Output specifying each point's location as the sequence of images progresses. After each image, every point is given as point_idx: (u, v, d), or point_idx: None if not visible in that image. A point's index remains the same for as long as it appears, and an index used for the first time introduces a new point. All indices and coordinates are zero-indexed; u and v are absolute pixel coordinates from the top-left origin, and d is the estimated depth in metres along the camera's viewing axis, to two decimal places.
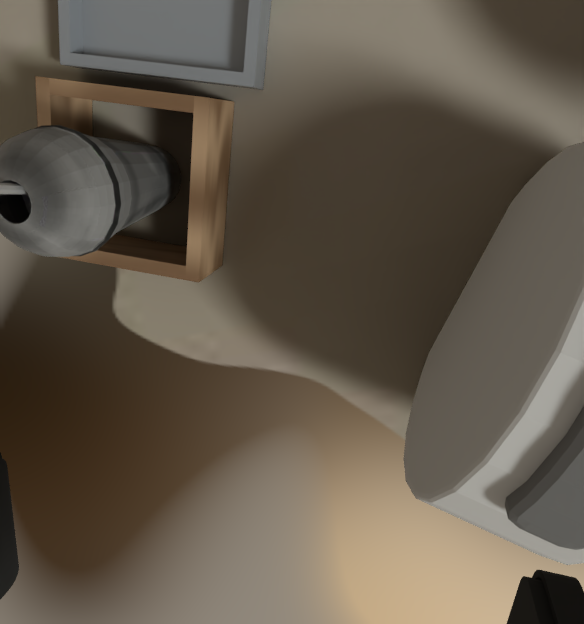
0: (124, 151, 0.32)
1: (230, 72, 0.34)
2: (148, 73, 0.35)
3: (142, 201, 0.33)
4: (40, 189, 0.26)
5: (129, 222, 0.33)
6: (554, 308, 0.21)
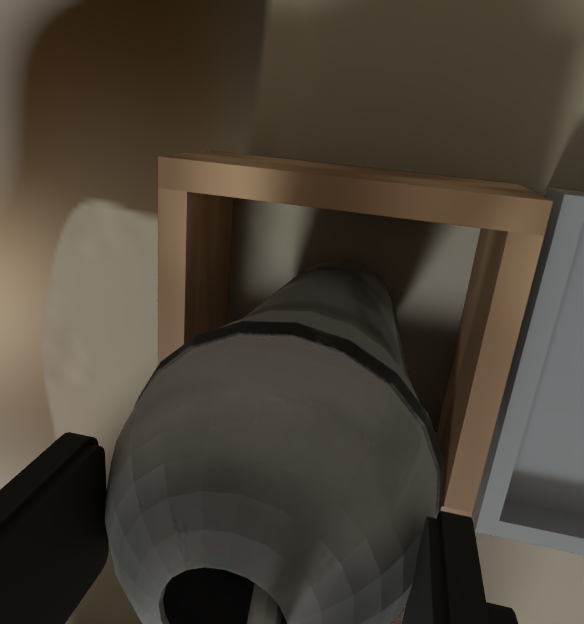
0: None
1: (501, 503, 0.21)
2: (518, 374, 0.19)
3: None
4: None
5: None
6: None
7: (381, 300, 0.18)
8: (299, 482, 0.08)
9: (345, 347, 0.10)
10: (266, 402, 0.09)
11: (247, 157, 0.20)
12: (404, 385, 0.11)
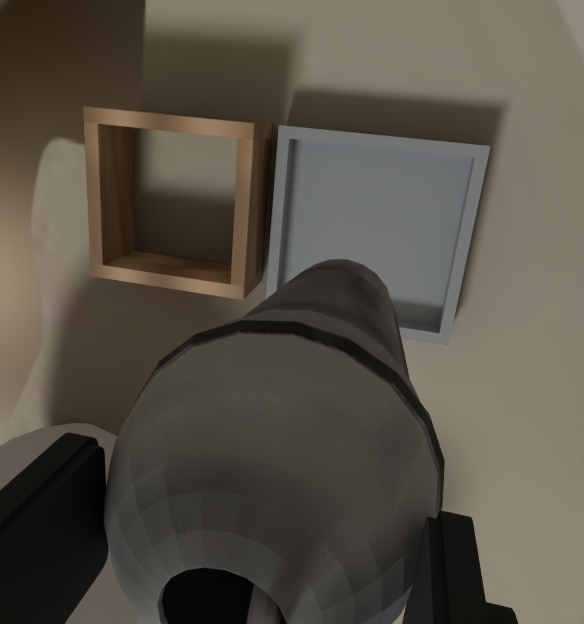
0: None
1: None
2: (272, 220, 0.38)
3: None
4: None
5: None
6: (84, 609, 0.35)
7: (381, 299, 0.18)
8: (299, 481, 0.08)
9: (345, 346, 0.10)
10: (265, 401, 0.09)
11: None
12: (404, 384, 0.11)
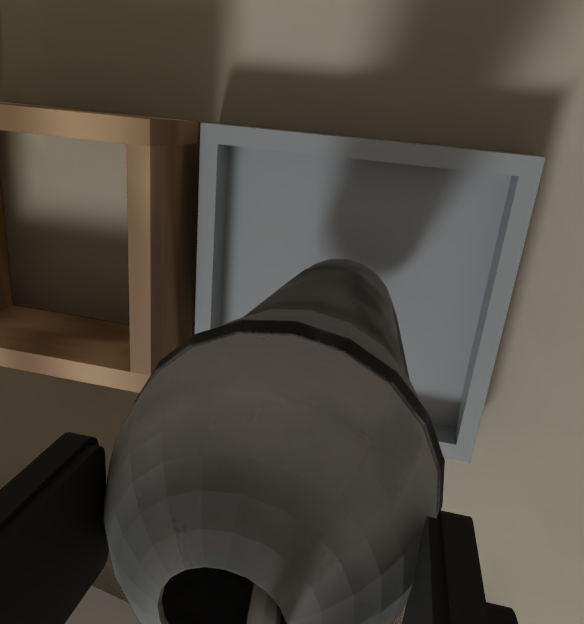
0: None
1: None
2: (197, 270, 0.25)
3: None
4: None
5: None
6: None
7: (381, 299, 0.18)
8: (299, 481, 0.08)
9: (345, 346, 0.10)
10: (265, 401, 0.09)
11: None
12: (404, 384, 0.11)
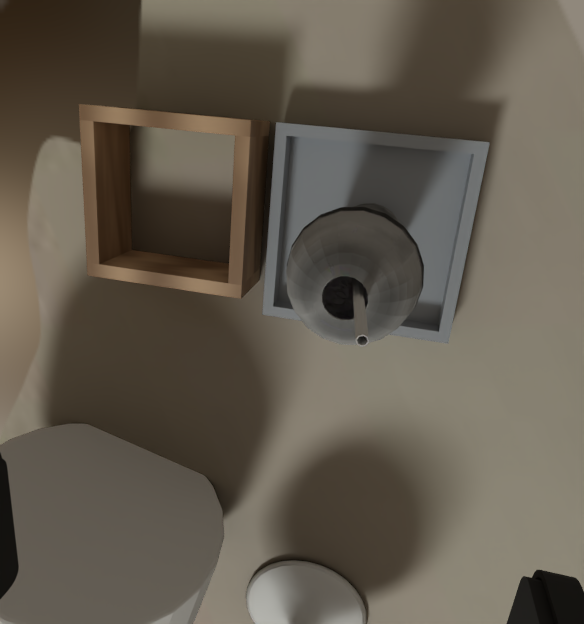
0: None
1: (272, 295, 0.40)
2: (270, 218, 0.38)
3: None
4: None
5: None
6: (82, 611, 0.35)
7: (395, 218, 0.34)
8: (371, 250, 0.24)
9: (384, 215, 0.26)
10: (357, 227, 0.25)
11: (131, 108, 0.38)
12: (407, 231, 0.26)
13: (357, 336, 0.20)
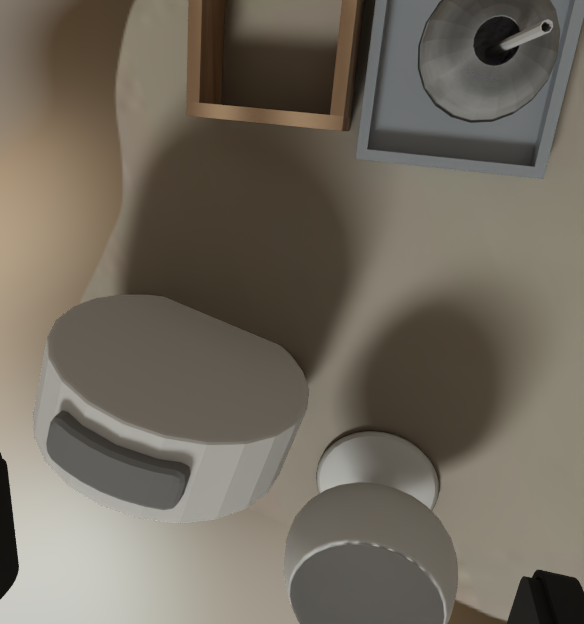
0: None
1: (367, 137, 0.41)
2: (369, 54, 0.39)
3: None
4: (506, 75, 0.25)
5: None
6: (192, 424, 0.35)
7: None
8: None
9: None
10: None
11: None
12: None
13: (541, 23, 0.20)
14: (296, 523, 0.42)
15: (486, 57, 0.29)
